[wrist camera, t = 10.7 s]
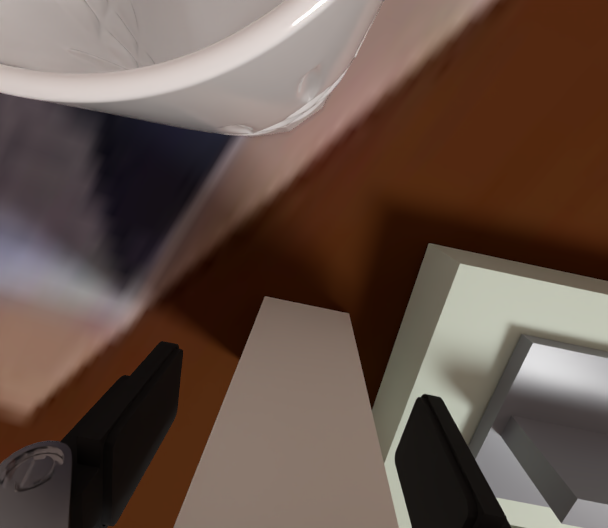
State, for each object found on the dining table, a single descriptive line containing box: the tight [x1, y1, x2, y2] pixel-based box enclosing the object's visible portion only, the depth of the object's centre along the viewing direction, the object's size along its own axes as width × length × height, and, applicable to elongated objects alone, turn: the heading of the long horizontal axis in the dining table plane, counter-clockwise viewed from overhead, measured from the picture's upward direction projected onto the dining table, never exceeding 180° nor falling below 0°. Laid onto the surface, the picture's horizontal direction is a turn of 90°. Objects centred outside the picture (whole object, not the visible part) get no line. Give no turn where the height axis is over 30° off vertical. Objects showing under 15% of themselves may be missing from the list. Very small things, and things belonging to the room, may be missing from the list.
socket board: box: [372, 243, 608, 528], centre depth 15 cm, size 13×20×3 cm, turn 168°
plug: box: [174, 296, 399, 528], centre depth 9 cm, size 4×4×12 cm
